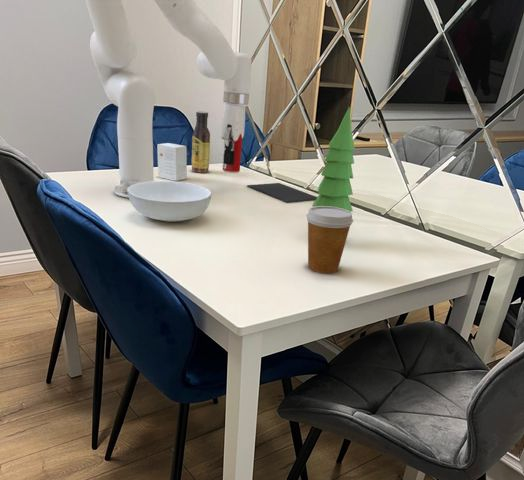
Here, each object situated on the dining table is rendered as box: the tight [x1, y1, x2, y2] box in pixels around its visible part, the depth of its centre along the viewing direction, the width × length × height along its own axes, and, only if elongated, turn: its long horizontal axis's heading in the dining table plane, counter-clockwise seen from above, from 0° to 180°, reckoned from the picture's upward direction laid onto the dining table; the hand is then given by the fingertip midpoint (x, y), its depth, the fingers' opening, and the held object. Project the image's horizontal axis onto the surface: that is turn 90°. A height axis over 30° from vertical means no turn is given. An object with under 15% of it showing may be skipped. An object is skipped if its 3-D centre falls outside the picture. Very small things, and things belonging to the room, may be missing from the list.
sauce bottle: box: [191, 110, 211, 174], centre depth 187 cm, size 7×6×20 cm
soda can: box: [222, 133, 243, 174], centre depth 166 cm, size 6×6×12 cm
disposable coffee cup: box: [305, 206, 354, 274], centre depth 110 cm, size 10×10×12 cm
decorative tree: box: [312, 106, 356, 213], centre depth 123 cm, size 10×9×30 cm
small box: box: [156, 142, 188, 182], centre depth 176 cm, size 8×6×10 cm
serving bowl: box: [128, 180, 212, 223], centre depth 136 cm, size 21×21×7 cm
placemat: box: [247, 182, 318, 204], centre depth 172 cm, size 22×13×1 cm, turn 34°
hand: (231, 162), depth 168 cm, fingers closed on soda can, 5 cm apart
